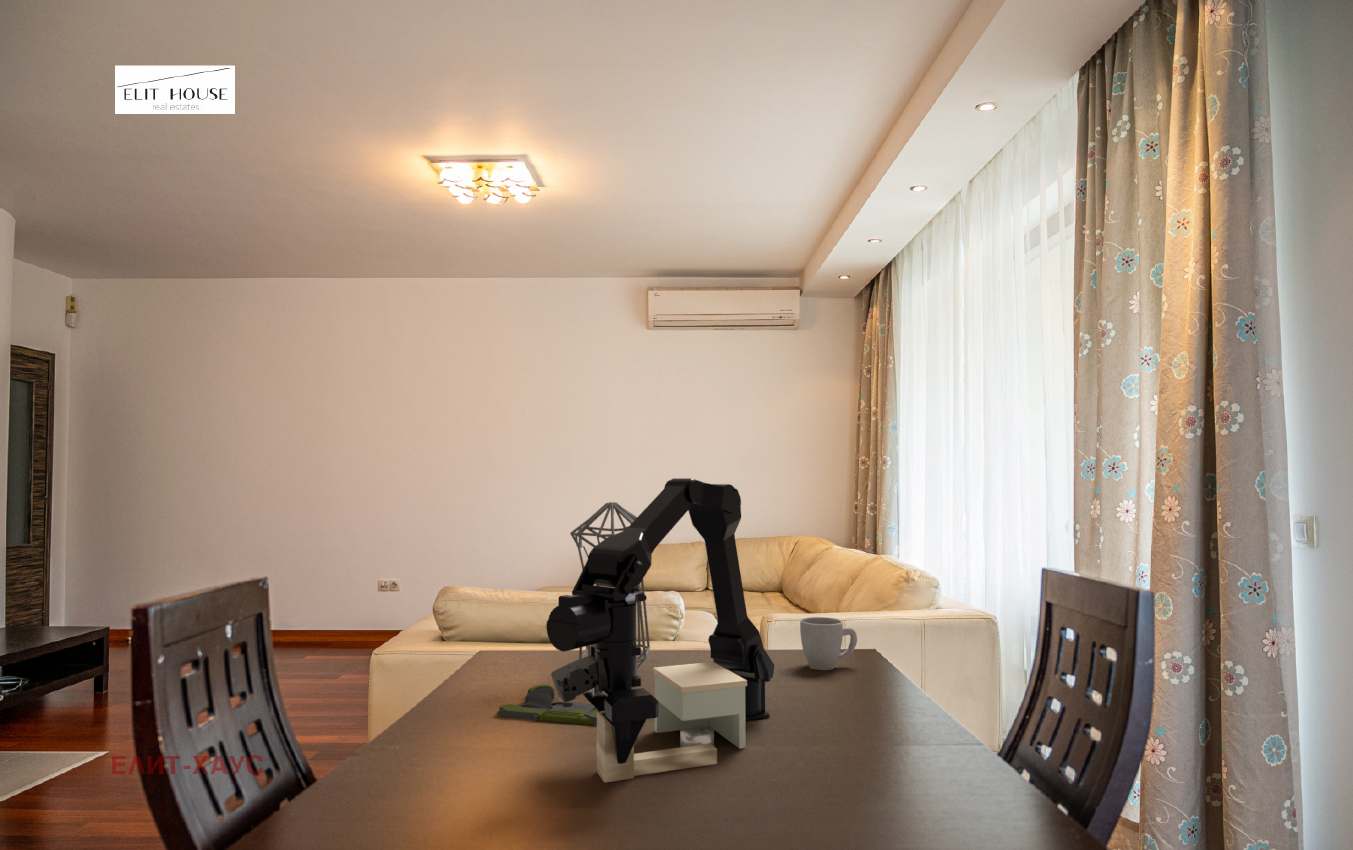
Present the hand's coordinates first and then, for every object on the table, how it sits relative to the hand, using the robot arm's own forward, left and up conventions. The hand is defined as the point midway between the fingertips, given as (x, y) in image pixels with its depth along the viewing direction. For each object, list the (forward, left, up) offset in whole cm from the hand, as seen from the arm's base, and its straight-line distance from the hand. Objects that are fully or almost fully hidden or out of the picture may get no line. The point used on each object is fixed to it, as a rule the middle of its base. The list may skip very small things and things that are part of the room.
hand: (615, 755), depth 104 cm
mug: (-59, -40, -3) cm, 72 cm away
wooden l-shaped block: (-6, 0, -2) cm, 7 cm away
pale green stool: (-16, -9, -2) cm, 19 cm away
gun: (0, -31, -3) cm, 32 cm away
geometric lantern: (-14, -49, -3) cm, 51 cm away
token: (-14, -6, -3) cm, 16 cm away
